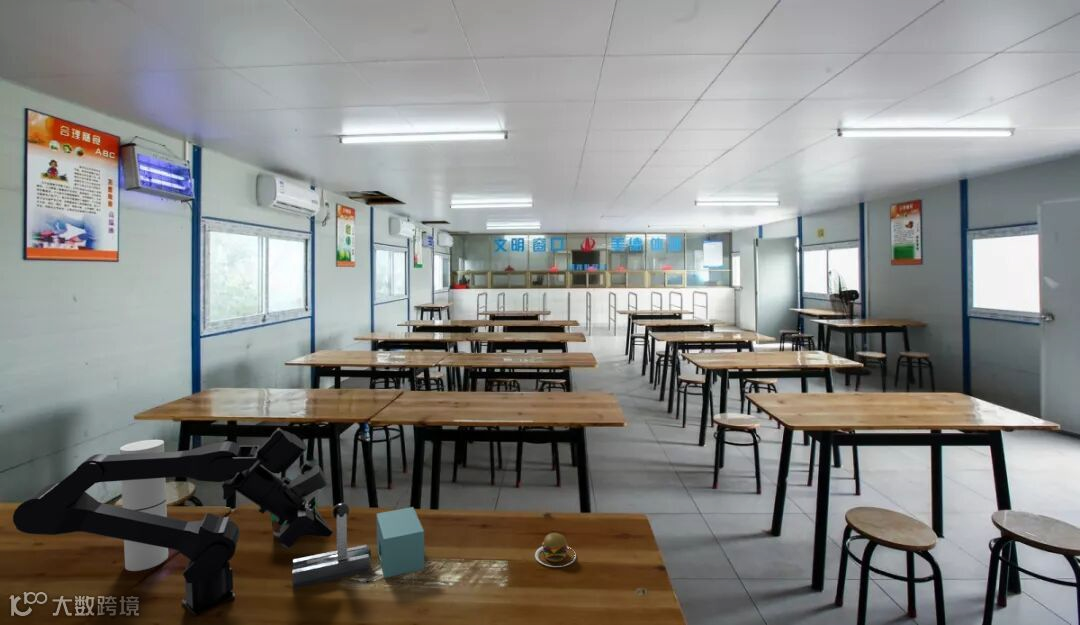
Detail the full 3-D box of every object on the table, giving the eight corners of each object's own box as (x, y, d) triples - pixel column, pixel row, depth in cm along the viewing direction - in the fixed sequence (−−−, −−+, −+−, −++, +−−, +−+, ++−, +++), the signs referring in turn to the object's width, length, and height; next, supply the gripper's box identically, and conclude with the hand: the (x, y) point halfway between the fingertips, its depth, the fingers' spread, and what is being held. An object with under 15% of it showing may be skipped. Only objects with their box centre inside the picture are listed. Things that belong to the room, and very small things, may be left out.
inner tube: (306, 576, 97) (305, 512, 96) (307, 567, 99) (305, 506, 99) (371, 562, 102) (370, 501, 101) (369, 554, 105) (368, 495, 104)
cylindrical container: (144, 572, 100) (139, 452, 98) (115, 568, 101) (110, 449, 100) (176, 554, 107) (172, 440, 105) (149, 550, 108) (145, 438, 107)
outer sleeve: (292, 589, 95) (292, 573, 95) (293, 574, 99) (293, 559, 99) (369, 571, 101) (369, 556, 100) (366, 558, 105) (366, 544, 105)
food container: (279, 549, 109) (278, 505, 108) (267, 540, 113) (265, 497, 112) (332, 527, 119) (331, 487, 118) (318, 520, 122) (318, 480, 122)
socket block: (384, 578, 99) (383, 539, 98) (376, 548, 109) (376, 513, 109) (424, 568, 102) (424, 531, 101) (413, 540, 113) (413, 507, 112)
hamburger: (576, 580, 99) (576, 554, 99) (520, 570, 103) (520, 544, 102) (588, 550, 111) (588, 526, 110) (537, 541, 114) (537, 518, 114)
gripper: (298, 473, 88) (364, 521, 93) (300, 442, 105) (356, 484, 110) (248, 525, 85) (320, 571, 90) (259, 485, 102) (318, 526, 107)
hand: (331, 534), depth 100 cm, fingers closed
